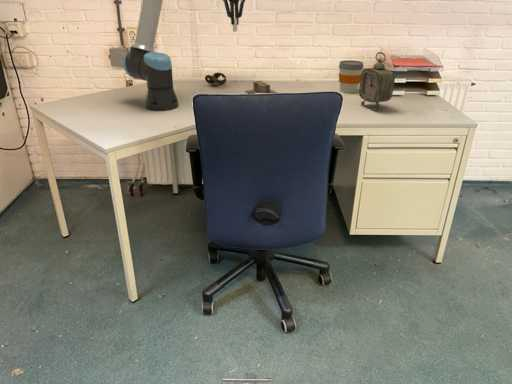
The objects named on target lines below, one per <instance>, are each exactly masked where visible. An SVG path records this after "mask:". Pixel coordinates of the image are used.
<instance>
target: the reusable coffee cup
mask: <svg viewBox="0 0 512 384" xmlns="http://www.w3.org/2000/svg"><path fill="white" fill-rule="evenodd" d="M338 69H339V72H338V82H339V91H340V92H341V93H344V94H356V93H357V92H358V88H359V85H360V79H361V74H362V71H363V69H364V62H362V61H359V60H351V59H350V60H341V61H339V64H338Z"/></svg>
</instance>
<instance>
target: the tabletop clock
mask: <svg viewBox="0 0 512 384" xmlns="http://www.w3.org/2000/svg"><path fill="white" fill-rule="evenodd" d="M379 54H381V55H383V57H384V59H383V60H382V58H379V59H378V58H377V57H378V55H379ZM375 59H376V61H377V62H376V63H374V65H373V66H372V67H368V68H363V69H362V73H361V79H360V83H359V86H358V88H359V90H358V92H359V93H358V94H359V97H360V98H361V99H362V100H363V101H360V104H361V106H363V105H365V102H369V103H371V104H372V103H373V104H375V107H374V108H373V110H374V112H377V111H378V110H379V107H380V104H379V103H382V102H383V103H384V102H389V101H390V100H392V97H393V92H394V88H395V80H396V75H395V73H394V72H393V71H391V70H389V69H386V65H385V64H384V62H385V61H386V54H385V53H384V52H382V51H379V52H377V53H376V54H375Z"/></svg>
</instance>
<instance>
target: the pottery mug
mask: <svg viewBox="0 0 512 384" xmlns="http://www.w3.org/2000/svg"><path fill="white" fill-rule="evenodd" d="M220 77H222V78H223V79H221V80H220V79H219V78H220ZM204 79H205V81H206V83H208V85H211V84H212V85H213V84H214V86H215V88H216V87H218V88H219V87H221V86H223V85H225V84H226V83H227V77H226V75H225V74H224V73H221V72H214V73H213V74H212V75H210V74H207V75H205V77H204Z"/></svg>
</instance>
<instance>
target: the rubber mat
mask: <svg viewBox="0 0 512 384" xmlns="http://www.w3.org/2000/svg"><path fill="white" fill-rule="evenodd" d="M244 92H245V93H247V94H248V95H250V94H255V93H258V92H256V91H254V90H253V89H250V90H245V91H244ZM270 93H278V92H277V91H276V90H275V91H274V90H272V89H271V88H270Z"/></svg>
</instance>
